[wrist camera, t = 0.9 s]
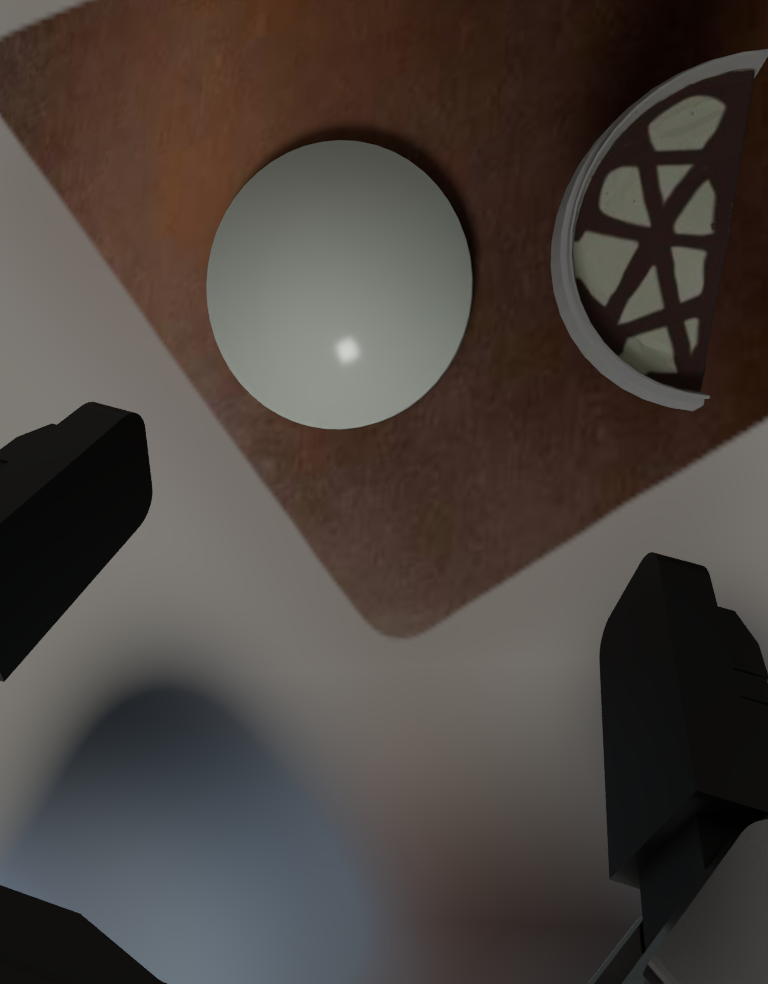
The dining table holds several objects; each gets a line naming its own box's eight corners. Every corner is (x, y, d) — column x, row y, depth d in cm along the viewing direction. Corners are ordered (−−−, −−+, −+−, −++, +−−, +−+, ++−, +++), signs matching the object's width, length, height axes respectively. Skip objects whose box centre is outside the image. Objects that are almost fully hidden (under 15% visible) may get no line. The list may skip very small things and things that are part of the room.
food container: (562, 146, 31) (576, 37, 21) (694, 146, 29) (774, 29, 20) (532, 394, 33) (532, 398, 23) (653, 404, 32) (707, 413, 22)
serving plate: (399, 90, 32) (394, 79, 31) (519, 354, 33) (519, 353, 32) (174, 238, 36) (163, 233, 35) (286, 469, 37) (278, 471, 36)
